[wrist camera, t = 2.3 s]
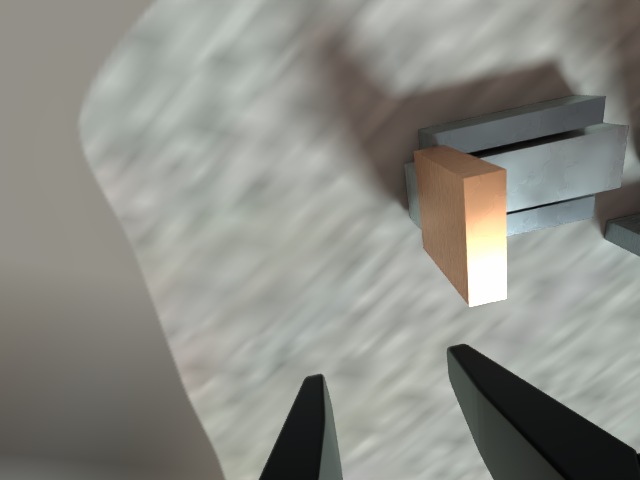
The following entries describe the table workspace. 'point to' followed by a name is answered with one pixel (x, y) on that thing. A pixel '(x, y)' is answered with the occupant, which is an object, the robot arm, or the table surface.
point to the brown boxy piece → (502, 196)
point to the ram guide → (519, 128)
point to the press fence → (625, 233)
